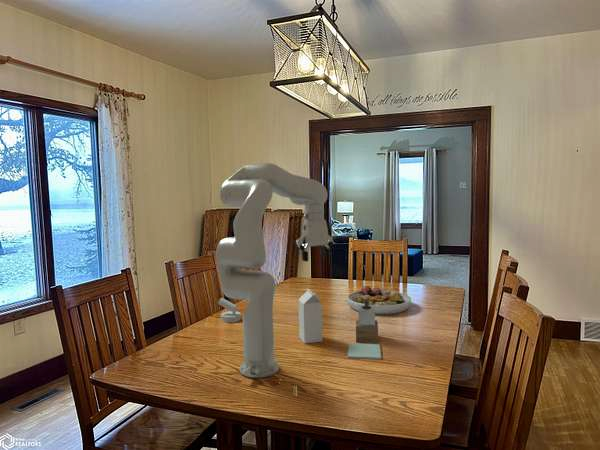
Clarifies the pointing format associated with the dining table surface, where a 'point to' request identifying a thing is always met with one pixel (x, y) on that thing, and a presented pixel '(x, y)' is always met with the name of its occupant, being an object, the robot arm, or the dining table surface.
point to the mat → (364, 351)
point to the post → (367, 330)
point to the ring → (366, 315)
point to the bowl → (380, 300)
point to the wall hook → (232, 314)
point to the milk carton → (310, 318)
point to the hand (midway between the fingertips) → (315, 259)
